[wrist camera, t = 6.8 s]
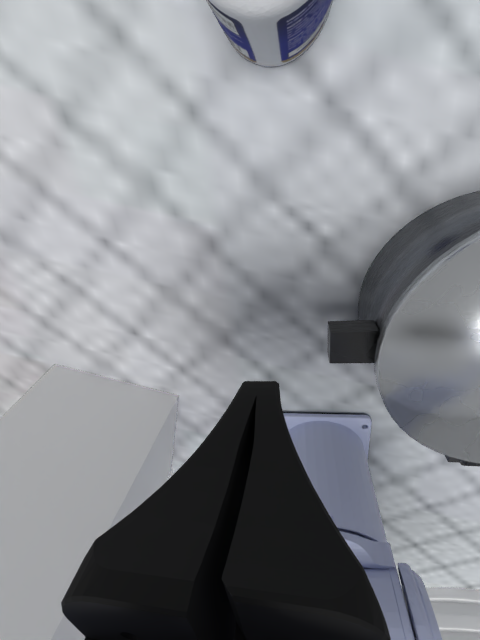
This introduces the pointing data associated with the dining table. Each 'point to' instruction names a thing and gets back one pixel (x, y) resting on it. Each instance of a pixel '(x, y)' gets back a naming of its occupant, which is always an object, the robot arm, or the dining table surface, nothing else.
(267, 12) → the pill bottle
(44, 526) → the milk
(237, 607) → the robot arm
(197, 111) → the dining table surface
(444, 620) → the plate stack
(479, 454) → the pot lid
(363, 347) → the cooking pot
